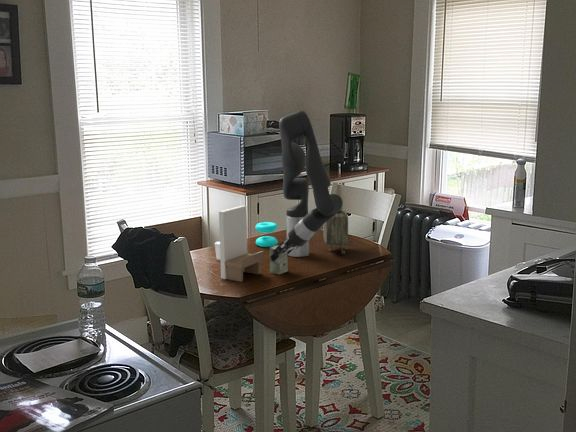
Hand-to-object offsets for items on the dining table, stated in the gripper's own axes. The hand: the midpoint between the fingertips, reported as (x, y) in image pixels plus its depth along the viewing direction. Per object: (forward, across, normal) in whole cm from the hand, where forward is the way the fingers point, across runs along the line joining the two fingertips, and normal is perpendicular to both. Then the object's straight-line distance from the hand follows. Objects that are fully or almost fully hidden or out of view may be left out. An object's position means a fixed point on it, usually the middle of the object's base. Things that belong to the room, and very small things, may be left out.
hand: (278, 256), depth 247 cm
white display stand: (+11, +12, -2) cm, 16 cm away
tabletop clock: (+2, -39, +7) cm, 39 cm away
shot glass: (+26, -4, -17) cm, 32 cm away
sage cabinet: (+4, 0, +4) cm, 6 cm away
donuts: (+24, -32, -16) cm, 43 cm away
